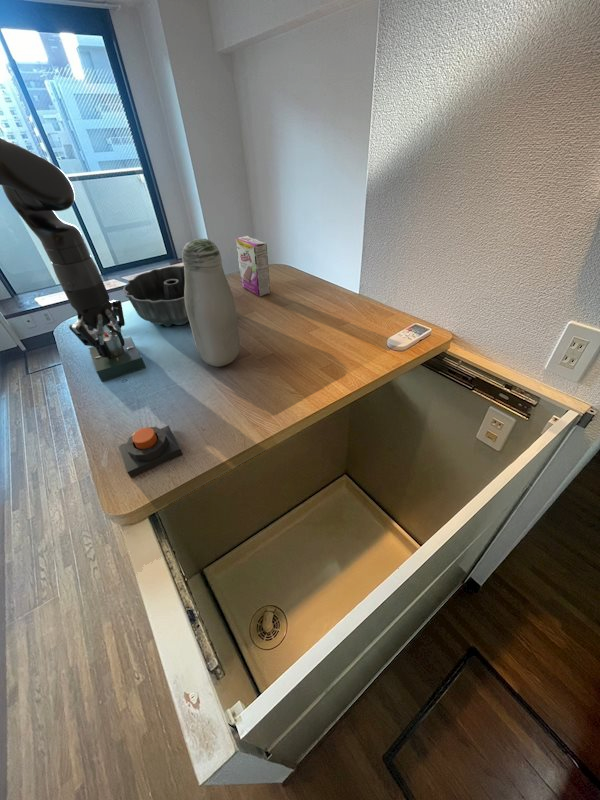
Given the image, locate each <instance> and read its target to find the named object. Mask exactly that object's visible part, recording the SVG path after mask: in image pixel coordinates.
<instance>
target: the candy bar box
mask: <svg viewBox="0 0 600 800" xmlns="http://www.w3.org/2000/svg"><path fill="white" fill-rule="evenodd" d="M235 247H236V252H237V259H238V266H239V275H240V282H241V288H243V289H245V291H246V290H247V291H248V292H250V293H252V294H254V295H255V296H257V297H259V298H262V297H264V296H266V295H270V294H271V285H270V283H271V282H270V271H269V270H270V269H269V258H268V245H267V243H266V242H264V241H262V240H259V239H257V238H254V237H251V236H250V235H244V236H240V237H236V238H235Z"/></svg>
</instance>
